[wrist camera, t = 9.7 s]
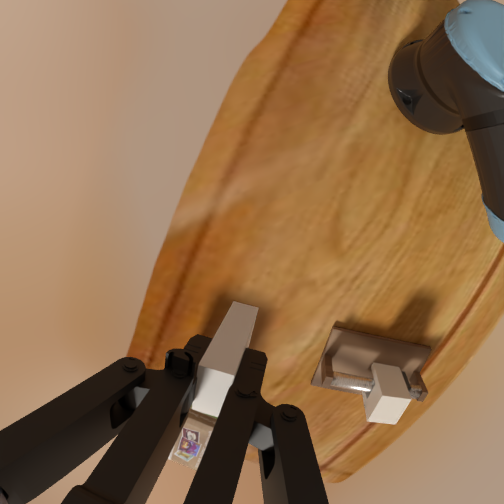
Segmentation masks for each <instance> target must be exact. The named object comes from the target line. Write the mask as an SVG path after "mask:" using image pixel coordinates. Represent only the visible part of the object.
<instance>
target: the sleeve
mask: <svg viewBox="0 0 504 504" xmlns="http://www.w3.org/2000/svg"><path fill="white" fill-rule="evenodd" d="M371 369H372V373H373V377H374V381H375V386H374V387H373V389H372V391H371V393H368V392H362V395H363V401H364V406H365V412H366V418H367V421H369V422H378V423H387V424H396V423H397V421H398V420H399V418H400V417H401V415H402V414H403V412H404V410H405V409H406V407H407V406H408V404H409V403H410V401H411V397H410V394H409V391H408V388H407V386H406V383H405V381H404V378H403V375H402V373H401V370H400V368H399V367H396V366H390V365H385V364H379V363H374V362H373V364H372V366H371Z"/></svg>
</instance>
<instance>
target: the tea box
mask: <svg viewBox="0 0 504 504" xmlns="http://www.w3.org/2000/svg"><path fill="white" fill-rule="evenodd" d="M217 418H218V417H215V416H211V415H208V414H205V413H202V412H199V411H196V410H193V409H192V405H191V407H190V409H189V414H188V418H187V420H186V422H185V424H184V426H183V428H182V430H181V433H180V435H179V437H178V439H177V441H176V443H175V445H174V447H173V449H172V451H171V453H170V455H169V457H168V459H169V460H172V461H174V462H176V463H179V464H181V465H183V466H186V467H189V468H191V469H194V470H196V471H197V469H198V466H199V464H200V461H201V459H202V456H203V454H204V451H205V449H206V446H207V444H208V441H209V439H210V436H211V433H212V431H213V428H214V426H215V423H216V421H217Z"/></svg>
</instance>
